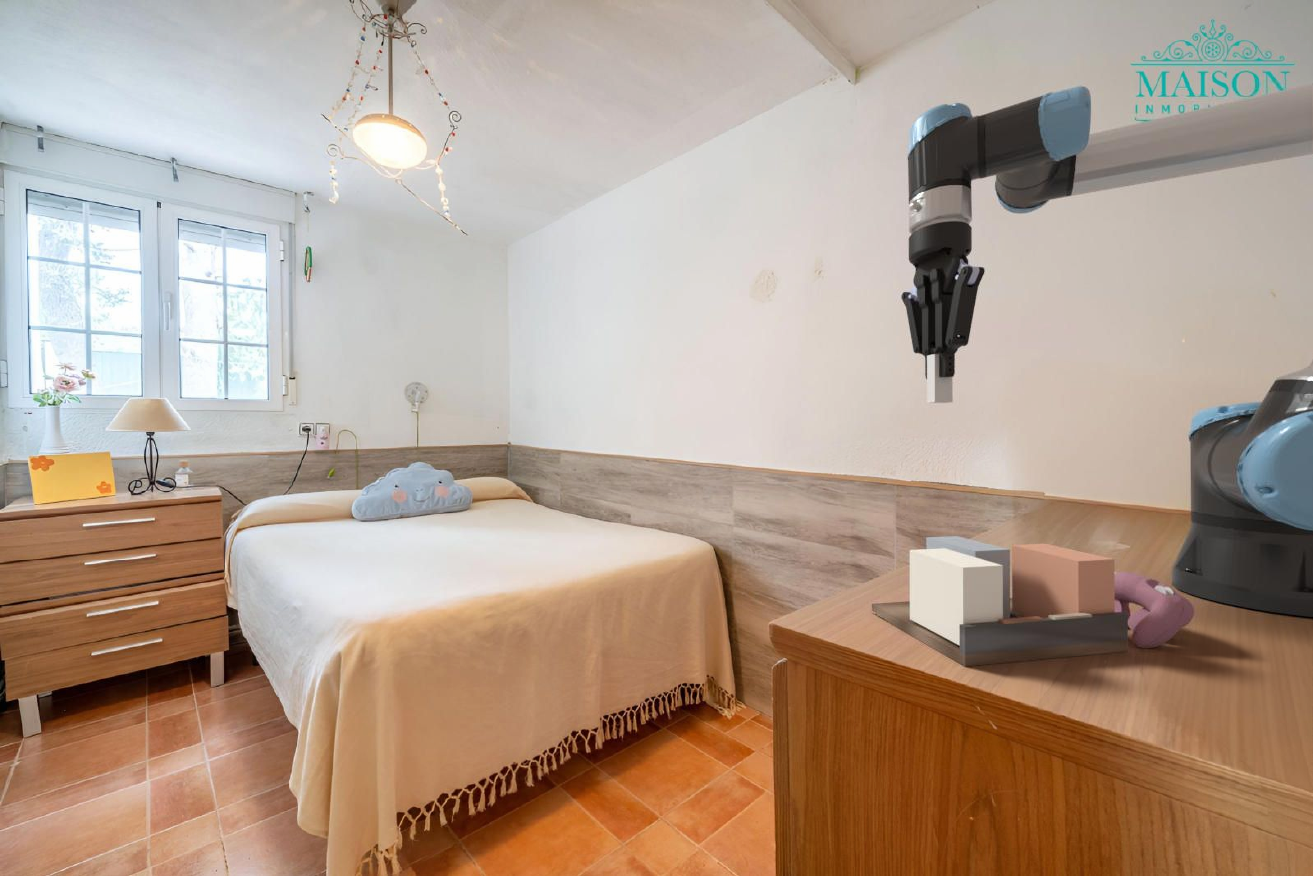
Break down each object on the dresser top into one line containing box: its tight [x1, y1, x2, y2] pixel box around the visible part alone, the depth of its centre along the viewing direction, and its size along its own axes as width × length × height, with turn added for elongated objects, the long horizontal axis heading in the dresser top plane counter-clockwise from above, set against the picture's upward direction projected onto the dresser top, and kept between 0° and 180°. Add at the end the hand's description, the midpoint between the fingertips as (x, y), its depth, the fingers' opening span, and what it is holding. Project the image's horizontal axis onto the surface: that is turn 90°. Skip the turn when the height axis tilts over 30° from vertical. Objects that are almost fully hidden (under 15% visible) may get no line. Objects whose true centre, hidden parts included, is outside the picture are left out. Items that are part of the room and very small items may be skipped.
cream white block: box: [909, 548, 1003, 646], centre depth 48 cm, size 7×4×7 cm, turn 10°
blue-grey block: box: [925, 535, 1011, 619], centre depth 54 cm, size 7×4×7 cm, turn 10°
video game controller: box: [1115, 571, 1195, 649], centre depth 51 cm, size 10×5×7 cm, turn 1°
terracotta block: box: [1011, 543, 1116, 618], centre depth 50 cm, size 7×4×7 cm, turn 10°
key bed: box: [871, 597, 1129, 667], centre depth 51 cm, size 14×17×4 cm
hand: (939, 402), depth 69 cm, fingers closed
